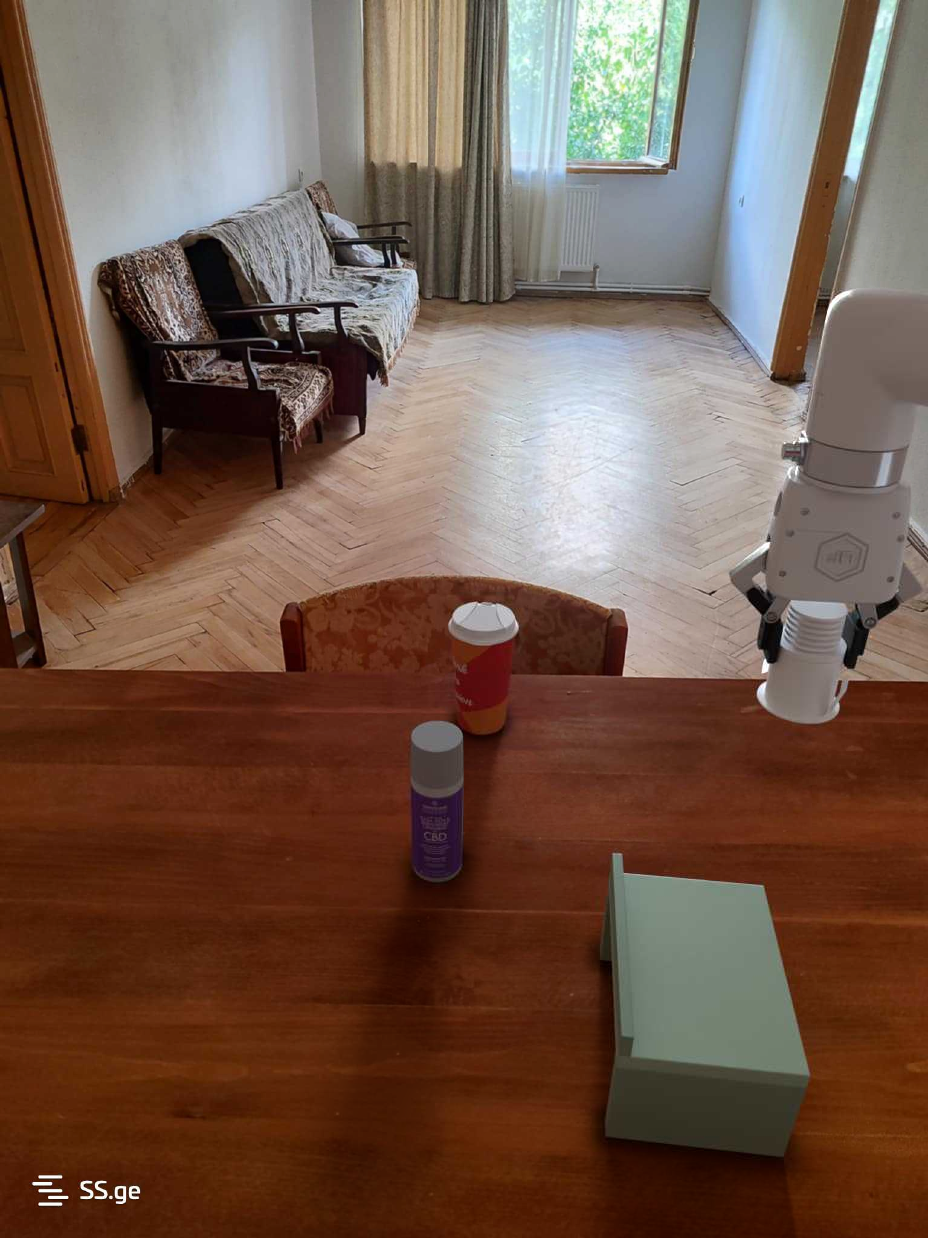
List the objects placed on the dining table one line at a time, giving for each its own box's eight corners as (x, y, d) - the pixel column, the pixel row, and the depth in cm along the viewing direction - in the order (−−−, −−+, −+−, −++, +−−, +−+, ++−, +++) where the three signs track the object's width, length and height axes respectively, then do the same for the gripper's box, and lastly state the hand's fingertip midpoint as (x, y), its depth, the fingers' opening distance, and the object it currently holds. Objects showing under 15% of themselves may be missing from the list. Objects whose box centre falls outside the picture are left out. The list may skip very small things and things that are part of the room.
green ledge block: (744, 962, 74) (768, 866, 68) (783, 1157, 60) (817, 1057, 54) (599, 948, 75) (612, 853, 69) (605, 1137, 61) (621, 1036, 56)
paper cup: (453, 698, 107) (453, 596, 100) (516, 704, 106) (521, 601, 99) (443, 738, 100) (442, 631, 93) (510, 744, 99) (515, 637, 92)
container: (423, 888, 80) (421, 758, 73) (405, 854, 84) (401, 727, 77) (470, 873, 82) (472, 745, 75) (450, 840, 86) (451, 714, 78)
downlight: (860, 712, 78) (886, 613, 73) (808, 739, 75) (832, 637, 70) (786, 671, 84) (805, 577, 79) (735, 694, 81) (752, 598, 76)
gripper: (743, 471, 66) (711, 675, 75) (987, 481, 64) (924, 688, 73) (729, 440, 72) (701, 631, 81) (951, 448, 70) (897, 642, 79)
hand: (807, 656), depth 77 cm, fingers closed on downlight, 5 cm apart
